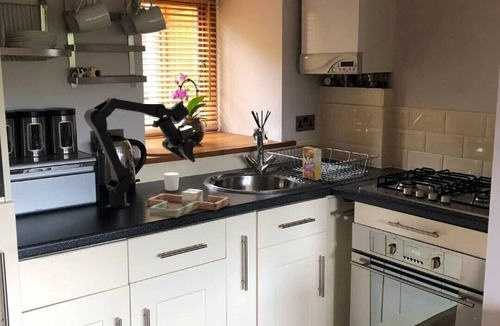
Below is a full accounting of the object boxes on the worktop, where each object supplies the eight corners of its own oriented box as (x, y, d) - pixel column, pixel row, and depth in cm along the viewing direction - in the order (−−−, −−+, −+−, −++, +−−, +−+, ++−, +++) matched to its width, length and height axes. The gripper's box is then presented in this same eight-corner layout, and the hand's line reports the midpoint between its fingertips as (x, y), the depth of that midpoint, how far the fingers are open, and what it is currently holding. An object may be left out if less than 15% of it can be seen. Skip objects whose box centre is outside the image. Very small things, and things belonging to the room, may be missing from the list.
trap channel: (195, 220, 199) (195, 213, 199) (132, 211, 211) (132, 205, 211) (229, 203, 222) (229, 197, 222) (170, 196, 234) (170, 190, 233)
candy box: (301, 178, 268) (302, 147, 265) (308, 177, 270) (309, 146, 268) (314, 182, 261) (315, 149, 258) (321, 181, 263) (322, 148, 260)
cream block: (195, 205, 219) (194, 193, 219) (182, 204, 222) (181, 191, 221) (203, 202, 225) (202, 190, 224) (190, 200, 227) (189, 188, 226)
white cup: (160, 189, 246) (160, 174, 245) (170, 186, 252) (169, 171, 251) (173, 191, 243) (173, 175, 242) (182, 188, 249) (182, 172, 248)
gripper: (195, 120, 222) (214, 151, 229) (173, 116, 237) (191, 145, 244) (174, 137, 218) (194, 168, 225) (153, 132, 232) (172, 161, 240)
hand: (188, 160), depth 233 cm, fingers open, 9 cm apart
